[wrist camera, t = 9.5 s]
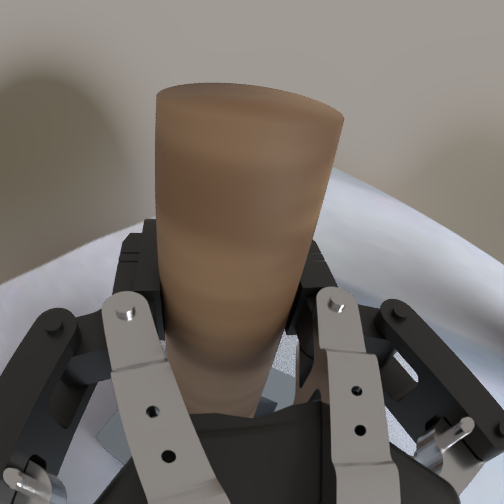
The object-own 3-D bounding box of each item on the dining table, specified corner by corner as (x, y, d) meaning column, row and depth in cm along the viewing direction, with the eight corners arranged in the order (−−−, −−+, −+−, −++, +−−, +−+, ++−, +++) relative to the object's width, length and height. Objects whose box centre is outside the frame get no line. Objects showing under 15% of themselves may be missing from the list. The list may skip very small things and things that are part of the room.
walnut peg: (200, 361, 17) (219, 78, 8) (266, 393, 16) (356, 110, 7) (159, 415, 14) (115, 99, 5) (231, 455, 13) (316, 143, 4)
